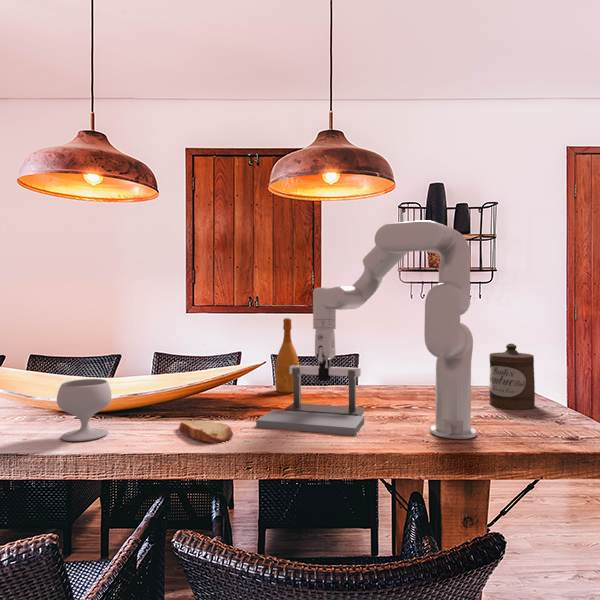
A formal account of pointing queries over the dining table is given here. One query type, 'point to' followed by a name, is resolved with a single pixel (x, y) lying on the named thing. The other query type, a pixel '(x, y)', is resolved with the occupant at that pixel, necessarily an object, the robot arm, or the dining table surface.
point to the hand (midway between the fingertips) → (324, 379)
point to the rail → (331, 370)
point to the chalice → (84, 405)
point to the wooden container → (512, 379)
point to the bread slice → (206, 431)
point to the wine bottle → (286, 361)
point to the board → (311, 422)
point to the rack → (325, 409)
